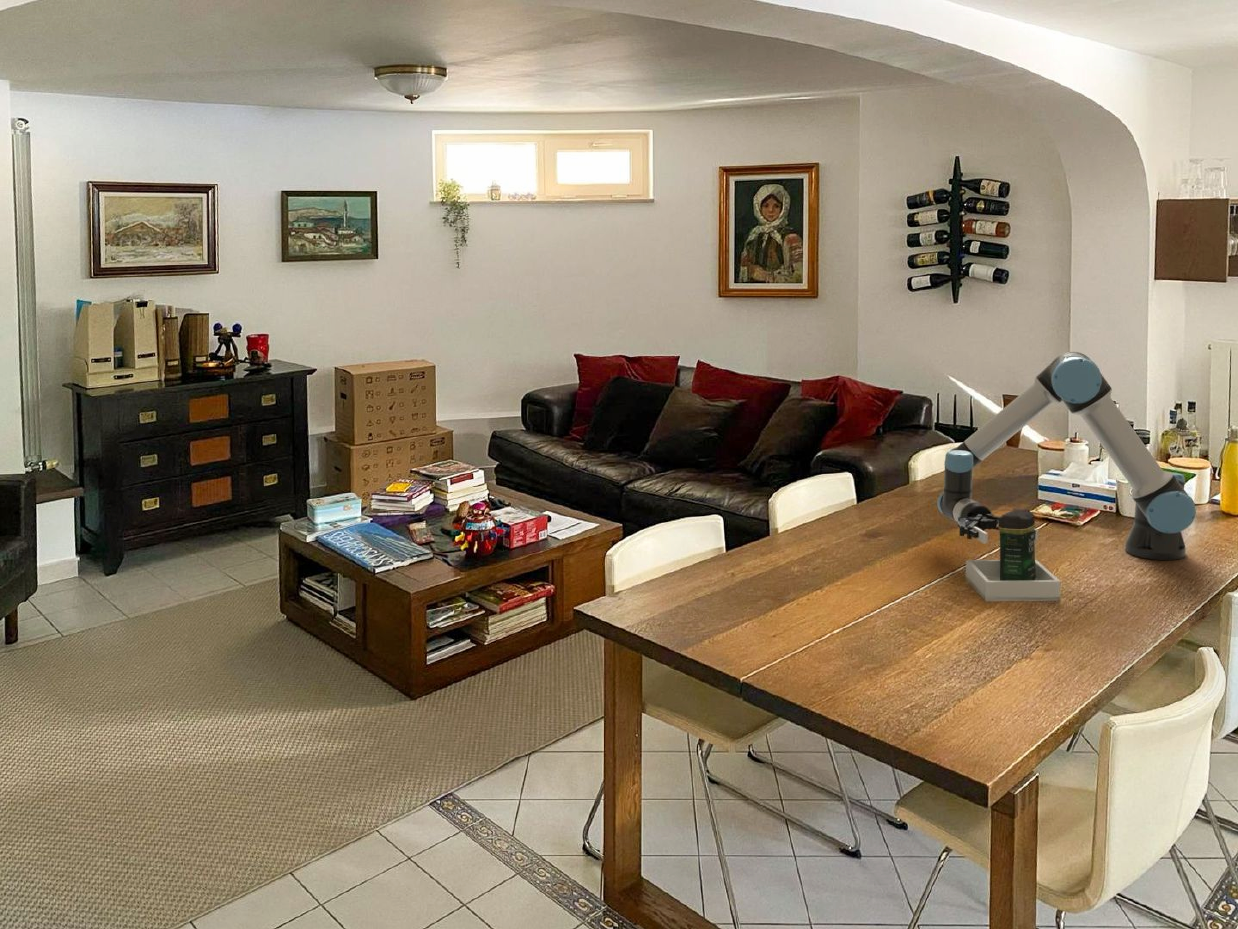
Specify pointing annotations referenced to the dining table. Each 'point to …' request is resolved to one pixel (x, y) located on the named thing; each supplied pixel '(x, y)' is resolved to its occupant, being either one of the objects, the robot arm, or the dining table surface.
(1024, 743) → the dining table surface
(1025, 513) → the coffee jar
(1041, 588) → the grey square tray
